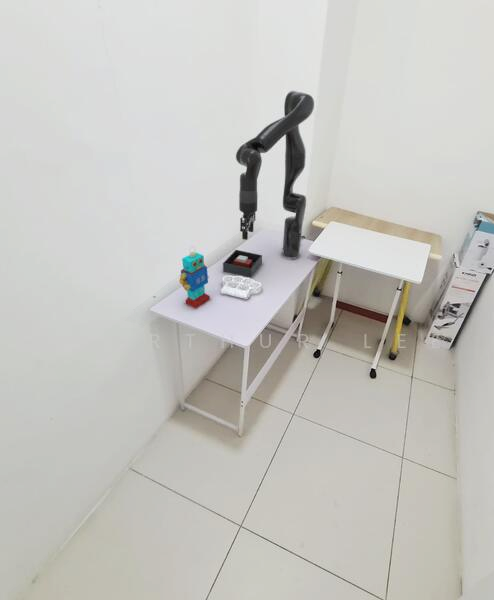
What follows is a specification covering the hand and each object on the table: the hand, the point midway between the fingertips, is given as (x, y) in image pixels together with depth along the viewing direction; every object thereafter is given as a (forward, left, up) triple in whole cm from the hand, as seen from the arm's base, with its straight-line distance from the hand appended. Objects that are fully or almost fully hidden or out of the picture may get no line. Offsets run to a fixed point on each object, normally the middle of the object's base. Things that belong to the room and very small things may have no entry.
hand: (248, 235), depth 148 cm
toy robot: (+28, -11, -21) cm, 37 cm away
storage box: (-5, -4, -20) cm, 21 cm away
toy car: (-5, -4, -20) cm, 21 cm away
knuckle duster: (+13, +2, -21) cm, 25 cm away
